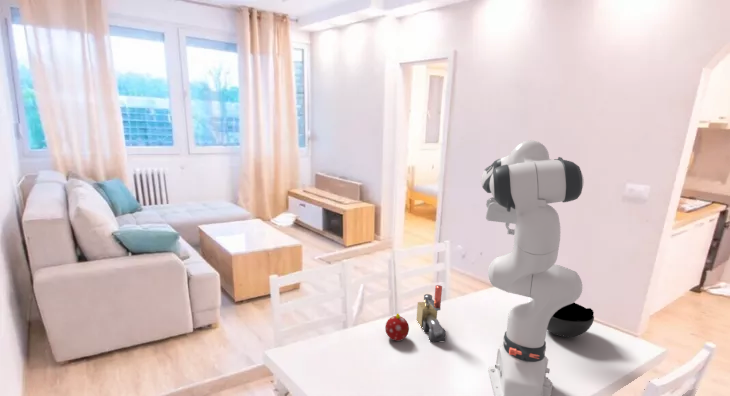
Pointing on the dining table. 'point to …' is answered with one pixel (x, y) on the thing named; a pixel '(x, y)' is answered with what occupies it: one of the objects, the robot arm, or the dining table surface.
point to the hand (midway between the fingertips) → (511, 234)
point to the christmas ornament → (397, 328)
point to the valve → (430, 322)
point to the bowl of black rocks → (571, 320)
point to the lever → (437, 301)
